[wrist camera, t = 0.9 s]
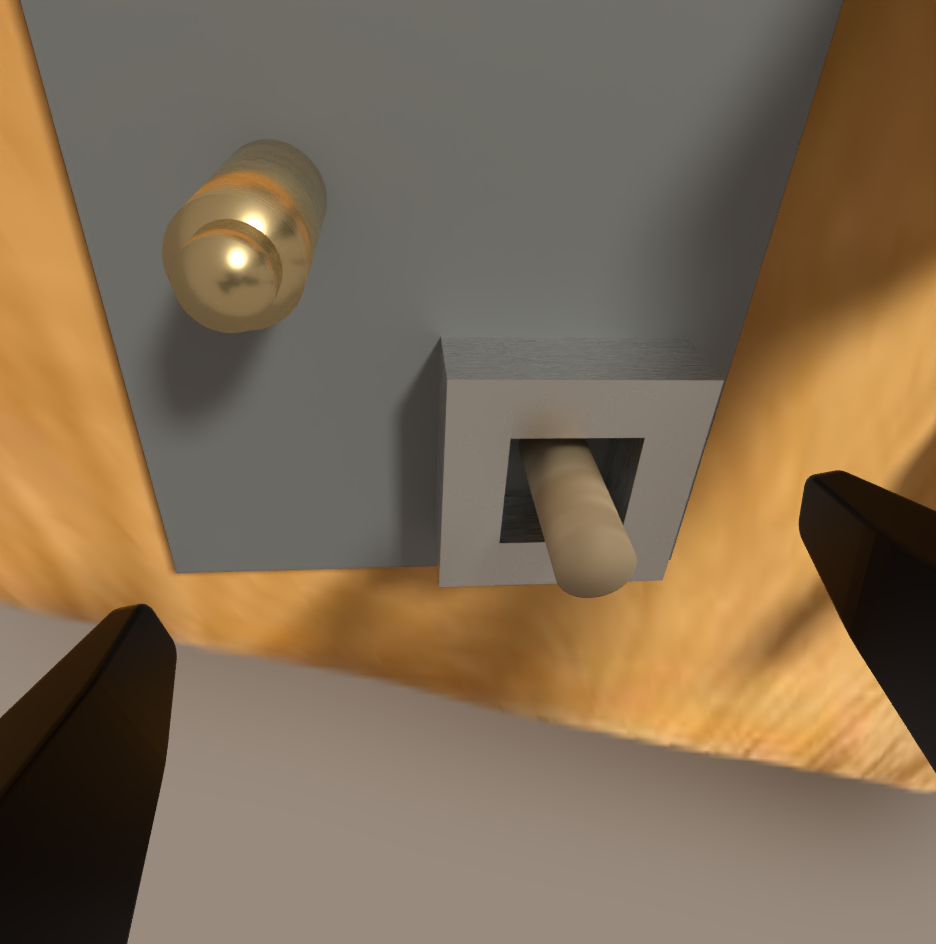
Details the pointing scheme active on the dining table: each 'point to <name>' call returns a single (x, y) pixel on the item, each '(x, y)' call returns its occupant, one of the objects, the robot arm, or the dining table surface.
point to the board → (412, 224)
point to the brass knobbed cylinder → (247, 238)
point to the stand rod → (577, 517)
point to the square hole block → (564, 416)
